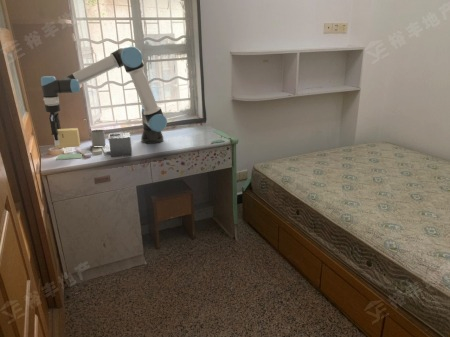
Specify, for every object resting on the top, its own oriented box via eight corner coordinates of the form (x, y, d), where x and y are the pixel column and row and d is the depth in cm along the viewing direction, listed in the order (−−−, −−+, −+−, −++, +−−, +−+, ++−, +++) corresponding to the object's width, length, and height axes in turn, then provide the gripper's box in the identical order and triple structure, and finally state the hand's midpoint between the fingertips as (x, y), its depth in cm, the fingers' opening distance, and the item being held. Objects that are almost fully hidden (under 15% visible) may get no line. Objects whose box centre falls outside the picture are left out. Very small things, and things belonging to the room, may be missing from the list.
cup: (91, 148, 230) (89, 133, 227) (93, 144, 238) (91, 129, 234) (105, 147, 232) (103, 132, 228) (106, 143, 239) (104, 129, 236)
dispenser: (131, 149, 227) (130, 132, 223) (131, 155, 216) (129, 137, 212) (111, 151, 224) (109, 133, 220) (110, 157, 213) (107, 138, 209)
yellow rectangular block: (80, 144, 215) (78, 128, 211) (79, 146, 210) (76, 130, 206) (57, 145, 212) (54, 129, 208) (55, 148, 207) (52, 131, 204)
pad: (83, 153, 219) (83, 153, 219) (81, 158, 211) (81, 157, 211) (58, 155, 216) (58, 154, 216) (55, 160, 208) (55, 159, 207)
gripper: (48, 101, 208) (54, 140, 216) (41, 107, 192) (48, 148, 200) (62, 101, 210) (67, 139, 218) (56, 107, 194) (62, 147, 202)
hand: (58, 143), depth 209 cm, fingers closed on yellow rectangular block, 5 cm apart
